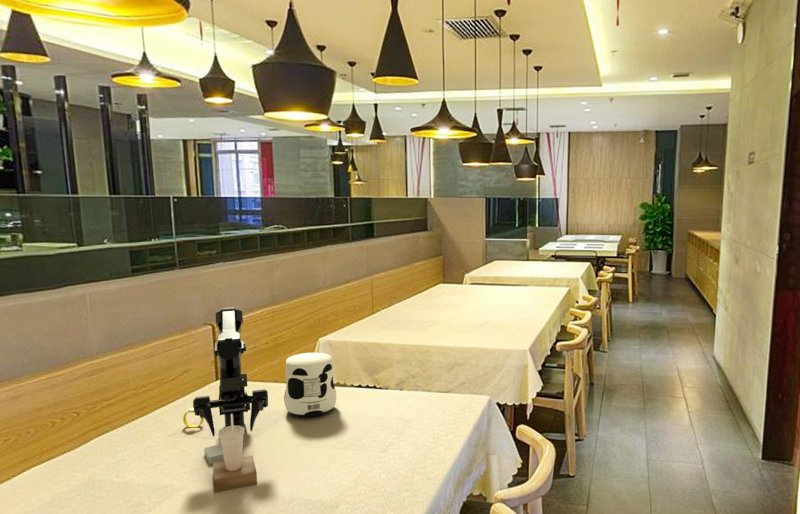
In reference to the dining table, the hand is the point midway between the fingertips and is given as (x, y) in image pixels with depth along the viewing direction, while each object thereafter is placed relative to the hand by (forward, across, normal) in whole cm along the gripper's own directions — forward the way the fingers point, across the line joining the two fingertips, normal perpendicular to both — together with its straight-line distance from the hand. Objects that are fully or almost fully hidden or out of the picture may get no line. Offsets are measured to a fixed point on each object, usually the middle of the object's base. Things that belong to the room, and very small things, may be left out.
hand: (232, 433), depth 140 cm
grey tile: (-1, -4, +16) cm, 17 cm away
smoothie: (+8, 0, +4) cm, 8 cm away
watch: (-18, -13, +35) cm, 41 cm away
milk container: (-19, +24, +35) cm, 47 cm away
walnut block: (+10, 0, +6) cm, 11 cm away
